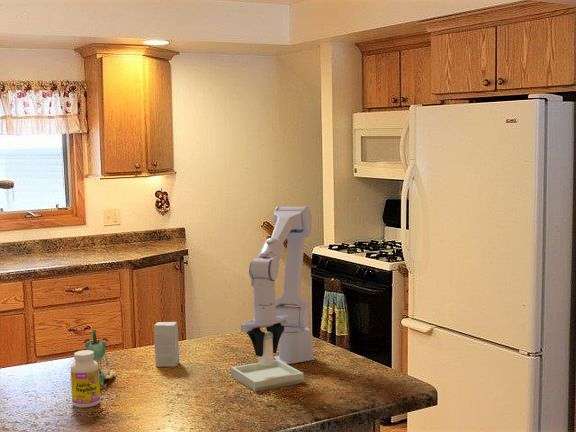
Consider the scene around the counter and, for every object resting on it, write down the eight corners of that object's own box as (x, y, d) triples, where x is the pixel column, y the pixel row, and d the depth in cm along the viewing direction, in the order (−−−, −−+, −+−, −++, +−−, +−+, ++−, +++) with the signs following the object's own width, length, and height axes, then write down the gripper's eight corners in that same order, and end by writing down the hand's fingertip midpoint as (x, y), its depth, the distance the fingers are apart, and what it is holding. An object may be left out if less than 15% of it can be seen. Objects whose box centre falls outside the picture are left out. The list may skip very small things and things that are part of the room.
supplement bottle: (72, 409, 189) (69, 357, 187) (72, 401, 195) (69, 350, 194) (101, 406, 190) (98, 354, 189) (99, 398, 197) (97, 347, 195)
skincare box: (179, 362, 226) (178, 321, 225) (176, 366, 222) (174, 325, 220) (159, 362, 227) (157, 321, 225) (155, 366, 222) (153, 325, 221)
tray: (277, 368, 218) (277, 359, 218) (303, 382, 205) (303, 373, 204) (231, 376, 212) (230, 367, 211) (255, 391, 198) (254, 382, 198)
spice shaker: (266, 359, 211) (265, 330, 210) (277, 362, 208) (276, 333, 207) (254, 363, 208) (253, 333, 207) (265, 366, 205) (264, 336, 204)
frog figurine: (73, 392, 202) (70, 334, 202) (83, 378, 220) (80, 325, 220) (111, 389, 203) (108, 332, 204) (118, 376, 221) (115, 323, 221)
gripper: (276, 297, 214) (278, 345, 215) (233, 305, 205) (234, 356, 206) (293, 300, 208) (294, 351, 210) (249, 309, 199) (251, 361, 200)
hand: (266, 354), depth 207 cm, fingers closed on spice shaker, 4 cm apart
